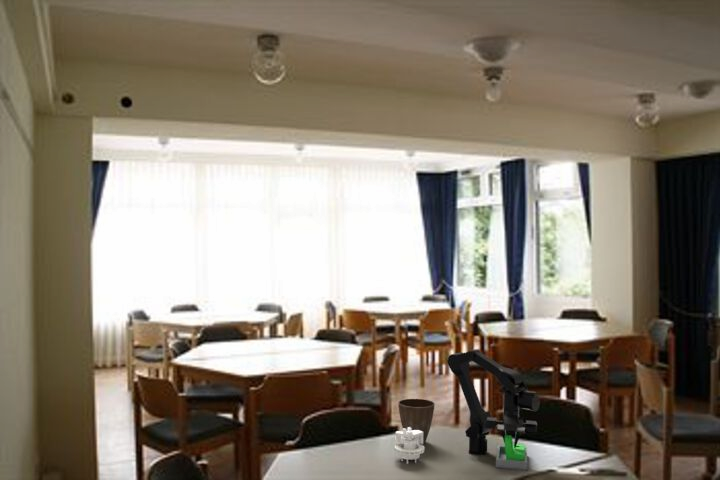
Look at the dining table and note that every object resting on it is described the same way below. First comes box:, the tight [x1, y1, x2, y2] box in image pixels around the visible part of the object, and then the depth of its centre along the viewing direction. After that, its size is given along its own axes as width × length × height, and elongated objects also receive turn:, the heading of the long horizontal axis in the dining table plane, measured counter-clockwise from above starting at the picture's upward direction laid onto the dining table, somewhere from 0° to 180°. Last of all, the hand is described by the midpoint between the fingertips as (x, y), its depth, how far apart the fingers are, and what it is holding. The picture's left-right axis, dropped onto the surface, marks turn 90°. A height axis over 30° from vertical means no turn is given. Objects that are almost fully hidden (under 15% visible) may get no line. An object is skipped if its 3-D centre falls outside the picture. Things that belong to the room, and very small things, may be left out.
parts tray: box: [495, 445, 528, 472], centre depth 237 cm, size 11×17×3 cm, turn 166°
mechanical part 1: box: [394, 427, 425, 465], centre depth 237 cm, size 11×12×12 cm
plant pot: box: [397, 398, 436, 445], centre depth 259 cm, size 15×15×16 cm
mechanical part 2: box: [504, 434, 526, 460], centre depth 236 cm, size 12×6×8 cm, turn 160°
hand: (510, 447), depth 237 cm, fingers closed on mechanical part 2, 3 cm apart
